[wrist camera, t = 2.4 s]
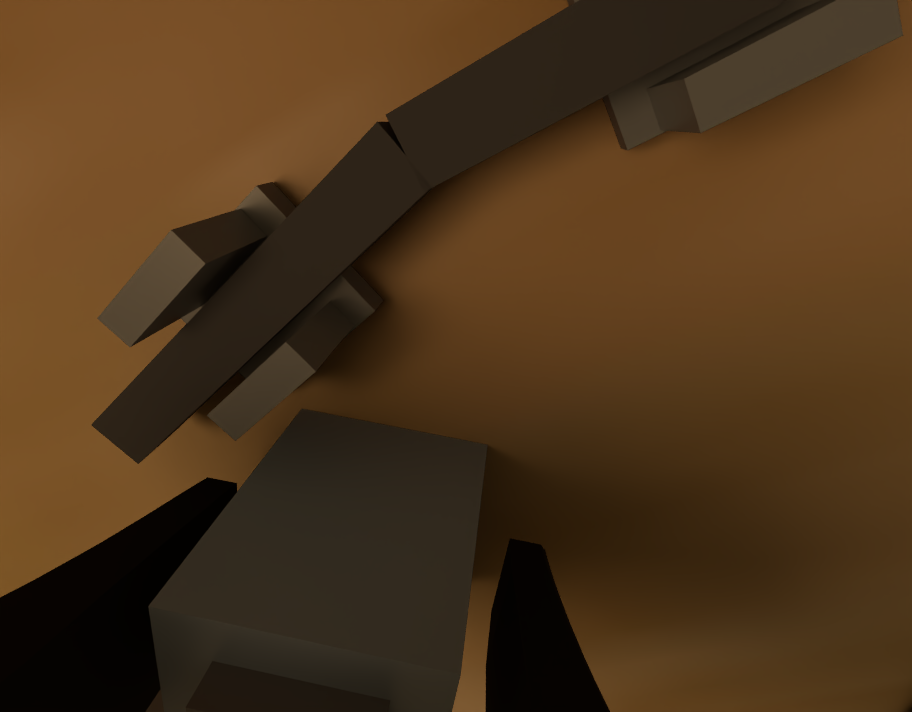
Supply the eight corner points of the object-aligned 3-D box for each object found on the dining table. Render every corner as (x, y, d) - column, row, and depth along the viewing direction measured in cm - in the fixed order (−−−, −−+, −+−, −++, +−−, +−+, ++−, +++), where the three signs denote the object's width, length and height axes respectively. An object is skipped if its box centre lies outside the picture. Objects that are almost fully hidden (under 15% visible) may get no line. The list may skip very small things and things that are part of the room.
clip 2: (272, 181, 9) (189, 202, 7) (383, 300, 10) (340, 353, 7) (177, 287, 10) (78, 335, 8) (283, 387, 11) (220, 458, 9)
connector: (487, 444, 11) (455, 725, 6) (458, 580, 13) (414, 890, 8) (302, 408, 11) (114, 650, 6) (298, 546, 13) (149, 827, 8)
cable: (1085, -419, 5) (1208, -536, 4) (1127, -185, 6) (1242, -244, 5) (89, 359, 10) (47, 382, 9) (165, 438, 11) (133, 467, 10)
